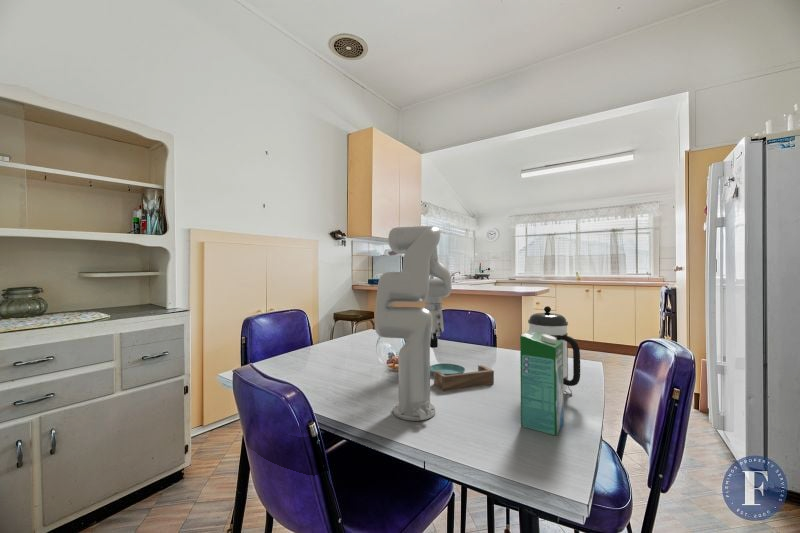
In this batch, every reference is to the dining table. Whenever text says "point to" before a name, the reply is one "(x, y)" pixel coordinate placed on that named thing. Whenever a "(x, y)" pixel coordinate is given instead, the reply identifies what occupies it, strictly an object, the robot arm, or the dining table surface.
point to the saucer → (447, 369)
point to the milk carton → (541, 382)
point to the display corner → (464, 379)
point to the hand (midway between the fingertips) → (433, 347)
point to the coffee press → (558, 329)
